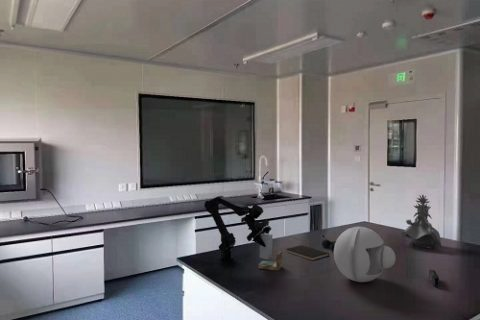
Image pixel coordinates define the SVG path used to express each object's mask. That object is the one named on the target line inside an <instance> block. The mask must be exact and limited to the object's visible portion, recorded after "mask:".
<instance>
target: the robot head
mask: <svg viewBox="0 0 480 320" xmlns="http://www.w3.org/2000/svg"><path fill="white" fill-rule="evenodd" d="M335 242H336V243H335V246H334V251H333V258H334V262H335V264H336V267H337V269H338V270H339V271H340V273H341V274H342V275H343V276H345V277H346V278H347V279H349V280H351V281H353V282H358V283H367V282H369V283H370V282H372V281H373V280H376V279H377V278H378V277H379V276H381V274H382V273H383V272H384V269H389V268H391V267H393V266H394V264H395V262H396V259H397V257H396V254H395V251H394V250H393V248H391V247H390V246H387V245H383V244H384V242H385V241H384V240H383V239H382V237H380V235H379V234H378V233H377V232H375V231H374V229H373V230H372V229H370V228H368V227H365V226H353V227H350V228H347V229H346V230H344V231H343V232H342V233H341V234H340V235H339V236H338V237H337V239H336V241H335Z"/></svg>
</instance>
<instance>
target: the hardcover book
mask: <svg viewBox="0 0 480 320" xmlns="http://www.w3.org/2000/svg"><path fill="white" fill-rule="evenodd" d="M285 252H287V253H289V254H293V255H295V256H298V257H301V258H304V259H307V260H310V261H314V260H317V259H320V258H324V257H327V256H330V254H329V252H326V251H323V250H321V249H316V248H313V247H310V246H306V245H304V244H300V245H297V246H292V247H288V248H285Z"/></svg>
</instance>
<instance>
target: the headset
mask: <svg viewBox="0 0 480 320" xmlns="http://www.w3.org/2000/svg"><path fill="white" fill-rule="evenodd" d="M321 236H322V237H323V238H324V239H323V240H322V241H321V247H322V248H327V249H328V248H329V249H330V250H331V251H333V252H334V246H335V243H336V241H331V240H329V239H327V238H326V237H325V235H324V234H322V235H321Z"/></svg>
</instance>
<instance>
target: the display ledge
mask: <svg viewBox="0 0 480 320" xmlns="http://www.w3.org/2000/svg"><path fill="white" fill-rule="evenodd" d="M275 256H276V258H275V259H276V260H275V261H269V260H261V262H259V264H257V265H258V266H257V269H259V270H261V269H262V270H267V271H268V270H269V271H276V272H278V271H280V270H281V268H283V251H282V250H279V251H278V252H277V253H276V255H275Z"/></svg>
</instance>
